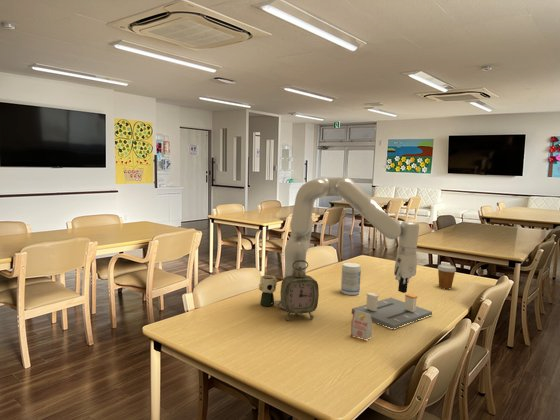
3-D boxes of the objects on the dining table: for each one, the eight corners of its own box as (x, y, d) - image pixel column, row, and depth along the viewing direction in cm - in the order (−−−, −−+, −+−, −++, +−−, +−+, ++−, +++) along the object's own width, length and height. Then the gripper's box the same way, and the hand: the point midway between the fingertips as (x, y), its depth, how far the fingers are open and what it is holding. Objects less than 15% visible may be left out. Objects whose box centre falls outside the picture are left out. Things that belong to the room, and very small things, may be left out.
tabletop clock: (284, 322, 166) (286, 263, 163) (278, 314, 175) (280, 257, 172) (317, 320, 170) (320, 262, 167) (310, 312, 178) (312, 256, 175)
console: (393, 330, 163) (393, 325, 163) (351, 312, 180) (352, 308, 180) (431, 316, 180) (432, 311, 180) (390, 301, 197) (390, 297, 197)
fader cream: (373, 311, 176) (374, 296, 175) (365, 308, 180) (366, 293, 179) (377, 310, 178) (378, 295, 177) (369, 307, 181) (370, 292, 181)
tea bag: (355, 333, 159) (356, 308, 158) (371, 338, 155) (373, 312, 154) (350, 335, 156) (352, 310, 155) (366, 341, 152) (368, 315, 151)
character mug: (264, 309, 179) (265, 281, 178) (253, 305, 184) (254, 277, 183) (281, 304, 187) (282, 276, 186) (270, 300, 192) (271, 273, 190)
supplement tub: (362, 295, 204) (363, 267, 203) (343, 295, 203) (345, 267, 201) (355, 289, 214) (357, 262, 212) (338, 289, 213) (340, 262, 211)
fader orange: (412, 312, 177) (413, 297, 176) (403, 309, 180) (405, 294, 180) (416, 311, 179) (417, 296, 178) (407, 308, 182) (408, 293, 181)
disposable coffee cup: (457, 290, 219) (459, 269, 218) (439, 289, 219) (441, 268, 218) (450, 285, 229) (452, 264, 227) (433, 284, 229) (435, 263, 228)
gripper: (404, 253, 165) (399, 297, 168) (424, 250, 175) (419, 291, 177) (389, 249, 171) (384, 291, 173) (409, 247, 181) (405, 286, 183)
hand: (402, 291), depth 175 cm, fingers closed
